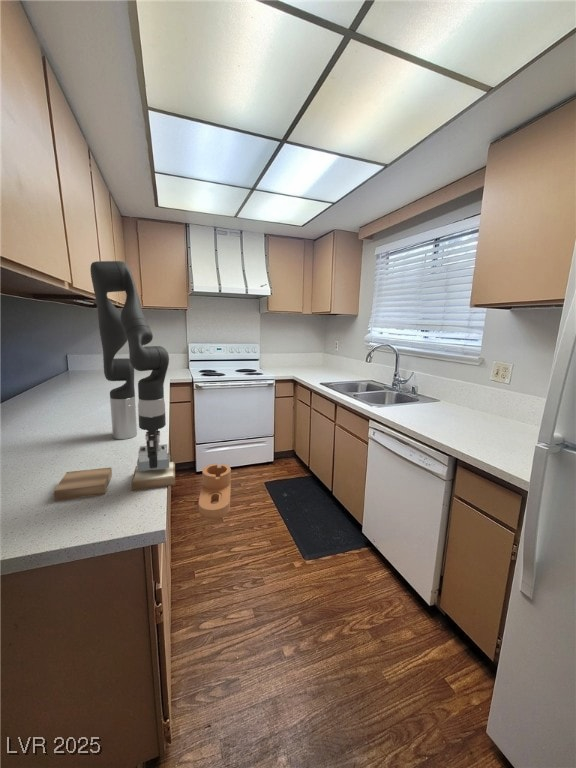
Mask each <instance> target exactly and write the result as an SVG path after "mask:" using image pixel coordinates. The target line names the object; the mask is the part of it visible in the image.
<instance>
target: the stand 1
mask: <svg viewBox="0 0 576 768" xmlns="http://www.w3.org/2000/svg"><path fill="white" fill-rule="evenodd" d="M112 477H113V472H112V466H110V467H103V468H92V469H85V470H83V469H82V470H74V471H66V473H65V474H64V476H63V477H62V478H61V480H60V481H59V482H58V484H57V485H56V486H55V489H54V490H53V496H54V501H56V502H57V501H64V500H70V499H79V498H87V497H93V496H102V495H103V496H104V495H106V493H107V490H108V487H109V485H110V482H111V479H112Z"/></svg>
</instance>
